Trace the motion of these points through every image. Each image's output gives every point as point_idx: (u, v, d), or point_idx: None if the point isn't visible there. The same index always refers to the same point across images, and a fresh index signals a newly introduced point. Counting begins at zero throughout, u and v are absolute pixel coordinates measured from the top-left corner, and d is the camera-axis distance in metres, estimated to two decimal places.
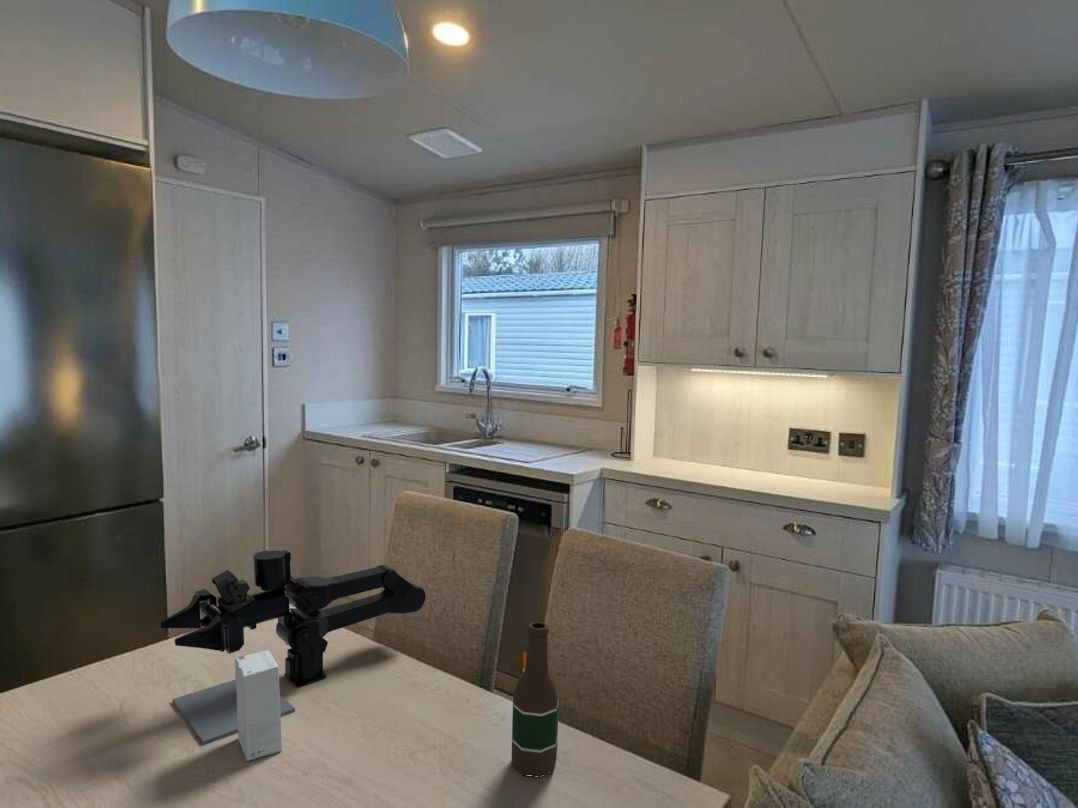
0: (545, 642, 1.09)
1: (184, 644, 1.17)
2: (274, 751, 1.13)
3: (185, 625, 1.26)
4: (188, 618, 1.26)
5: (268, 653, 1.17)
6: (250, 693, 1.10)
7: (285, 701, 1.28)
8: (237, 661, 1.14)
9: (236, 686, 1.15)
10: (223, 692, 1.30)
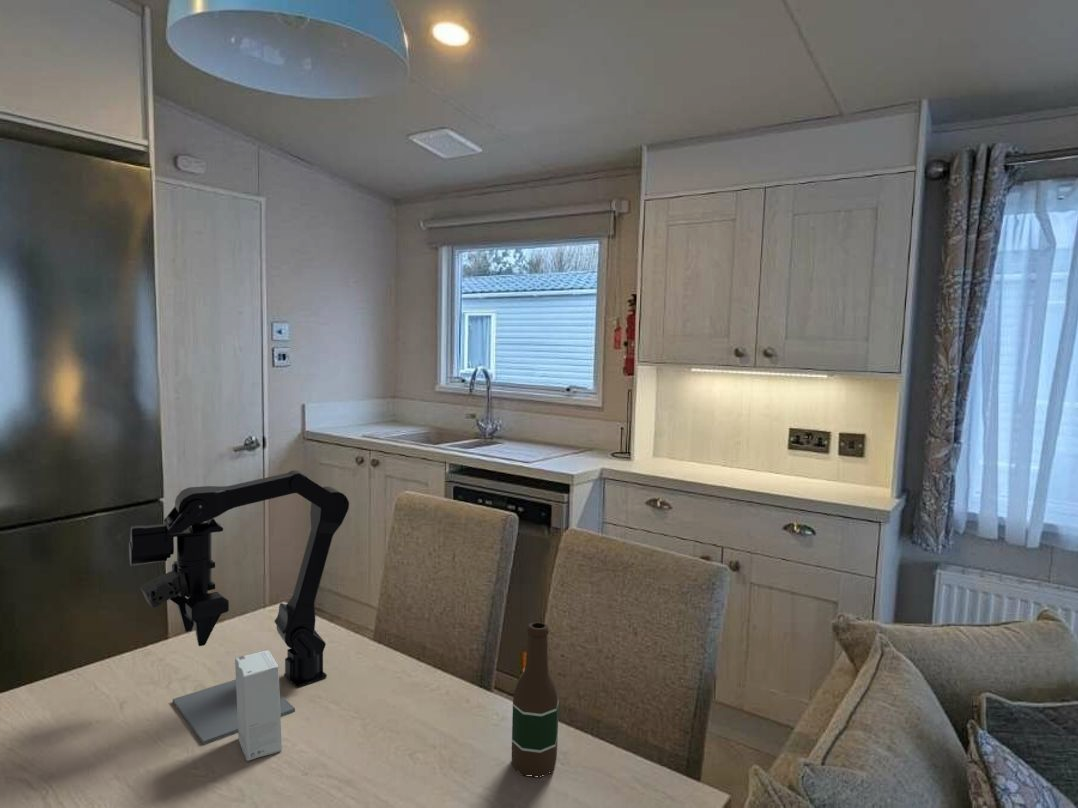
0: (545, 642, 1.09)
1: (206, 638, 1.23)
2: (274, 751, 1.13)
3: None
4: None
5: (268, 653, 1.17)
6: (250, 693, 1.10)
7: (285, 701, 1.28)
8: (237, 661, 1.14)
9: (236, 686, 1.15)
10: (223, 692, 1.30)
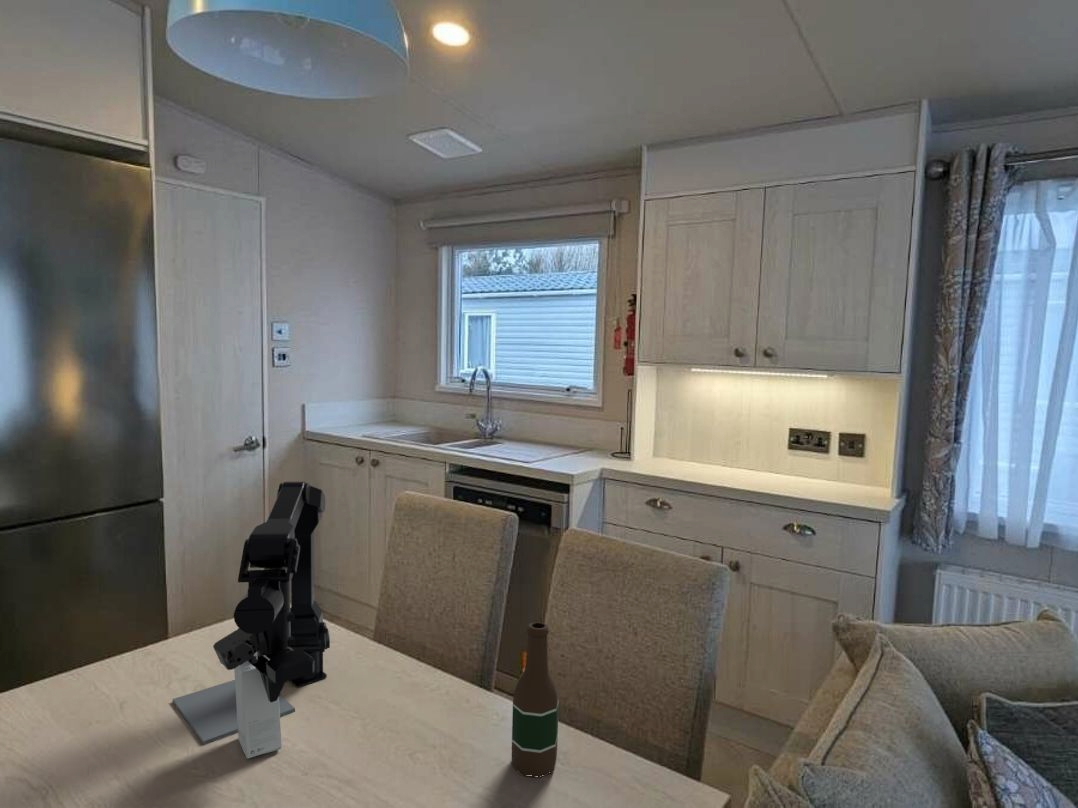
0: (545, 642, 1.09)
1: (278, 693, 1.10)
2: (274, 749, 1.13)
3: None
4: None
5: None
6: (249, 689, 1.10)
7: (285, 701, 1.28)
8: None
9: (235, 685, 1.15)
10: (223, 692, 1.30)
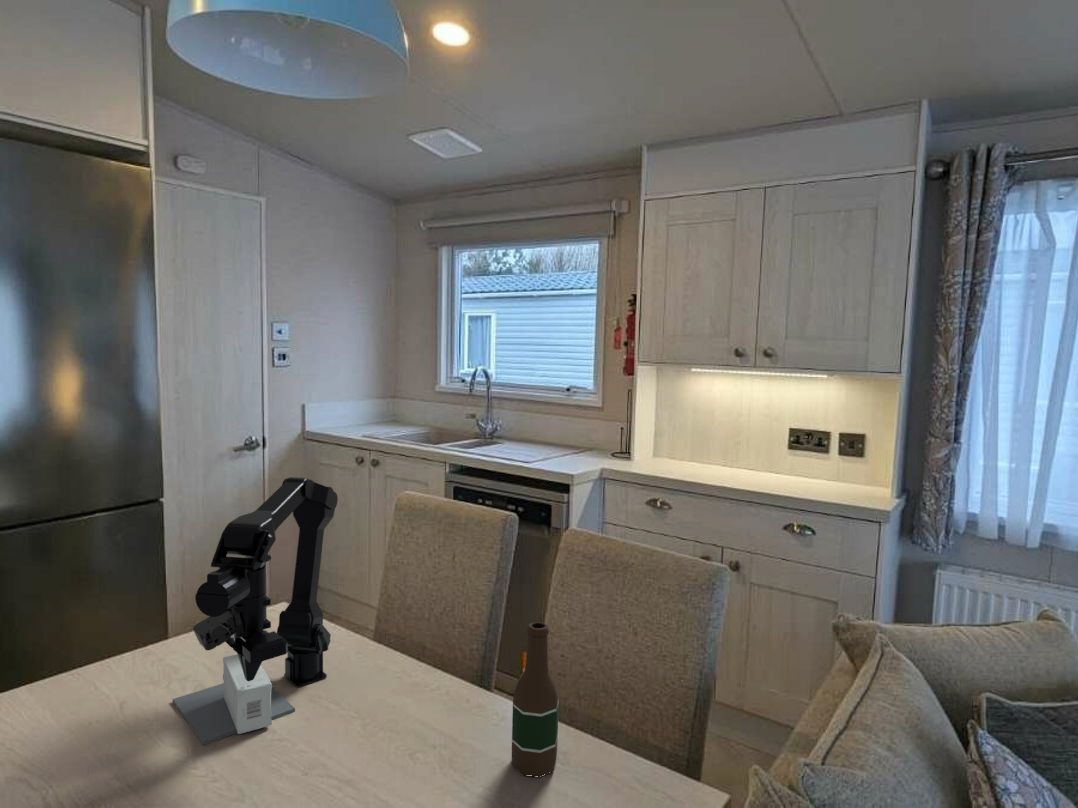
0: (545, 642, 1.09)
1: (254, 673, 1.17)
2: (264, 685, 1.19)
3: None
4: None
5: None
6: (231, 662, 1.26)
7: (285, 701, 1.28)
8: None
9: (226, 701, 1.25)
10: (223, 692, 1.30)
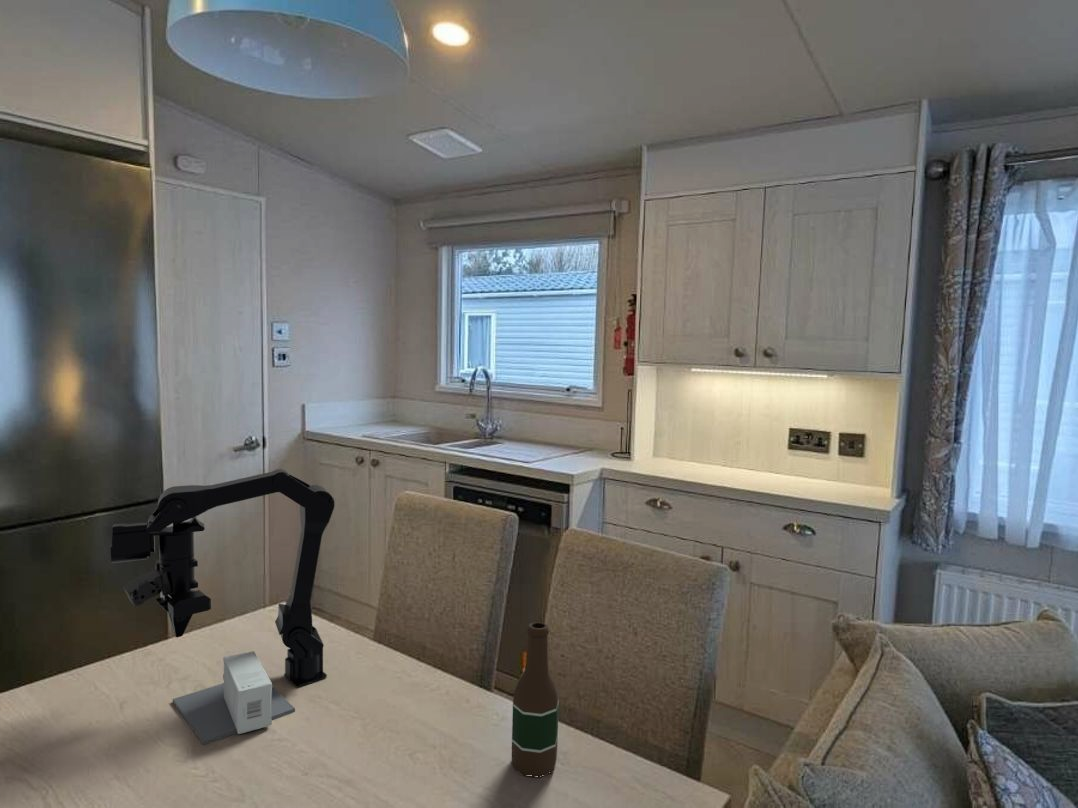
0: (545, 642, 1.09)
1: (183, 630, 1.26)
2: (264, 685, 1.19)
3: None
4: None
5: None
6: (232, 662, 1.26)
7: (285, 701, 1.28)
8: None
9: (227, 701, 1.25)
10: (223, 692, 1.30)
